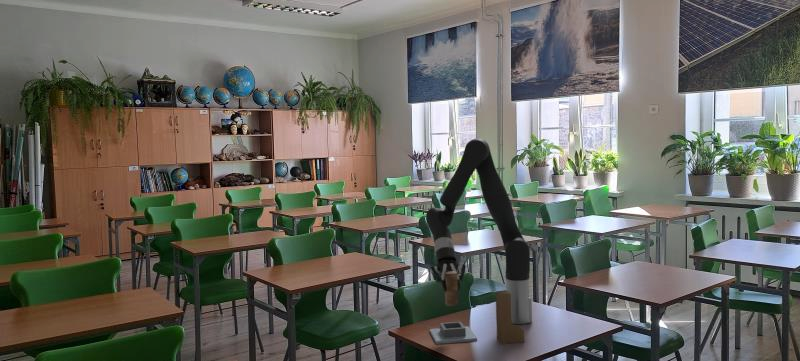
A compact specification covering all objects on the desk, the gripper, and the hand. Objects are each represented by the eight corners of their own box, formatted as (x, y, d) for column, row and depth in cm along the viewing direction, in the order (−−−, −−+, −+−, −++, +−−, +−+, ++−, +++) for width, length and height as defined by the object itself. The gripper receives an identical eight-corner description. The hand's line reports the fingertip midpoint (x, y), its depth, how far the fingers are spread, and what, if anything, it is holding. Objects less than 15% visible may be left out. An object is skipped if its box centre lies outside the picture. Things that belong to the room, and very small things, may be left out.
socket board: (468, 328, 227) (468, 318, 227) (477, 340, 214) (476, 330, 213) (429, 331, 226) (429, 321, 225) (436, 344, 212) (435, 333, 212)
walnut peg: (455, 302, 221) (455, 270, 220) (457, 305, 217) (457, 273, 216) (445, 303, 221) (444, 271, 220) (447, 306, 217) (446, 273, 216)
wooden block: (520, 338, 215) (519, 289, 213) (524, 342, 210) (523, 292, 209) (496, 340, 214) (495, 291, 212) (500, 344, 209) (498, 294, 208)
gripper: (427, 247, 225) (433, 286, 214) (464, 245, 226) (472, 284, 215) (425, 258, 230) (431, 296, 219) (461, 256, 232) (469, 294, 221)
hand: (451, 290), depth 217 cm, fingers closed on walnut peg, 4 cm apart
